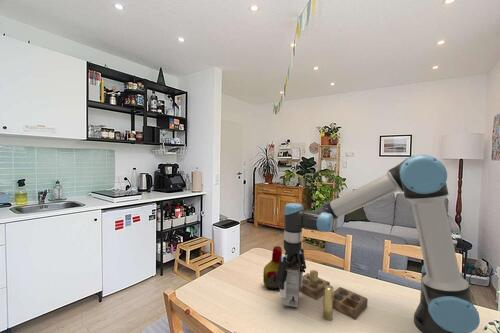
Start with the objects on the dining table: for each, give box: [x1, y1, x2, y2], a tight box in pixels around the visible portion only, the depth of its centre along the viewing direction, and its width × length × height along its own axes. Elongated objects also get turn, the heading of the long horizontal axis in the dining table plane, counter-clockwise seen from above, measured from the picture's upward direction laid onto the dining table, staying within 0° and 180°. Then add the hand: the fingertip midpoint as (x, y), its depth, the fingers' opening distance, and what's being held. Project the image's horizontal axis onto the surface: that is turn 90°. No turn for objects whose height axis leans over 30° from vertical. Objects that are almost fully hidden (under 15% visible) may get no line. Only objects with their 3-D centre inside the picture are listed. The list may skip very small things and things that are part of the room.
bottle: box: [262, 245, 283, 291], centre depth 113 cm, size 12×6×20 cm, turn 76°
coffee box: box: [282, 262, 300, 308], centre depth 101 cm, size 9×6×16 cm
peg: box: [322, 284, 334, 322], centre depth 93 cm, size 4×4×12 cm
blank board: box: [333, 286, 368, 320], centre depth 100 cm, size 12×12×4 cm
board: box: [299, 269, 331, 301], centre depth 113 cm, size 12×12×10 cm
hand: (291, 290), depth 102 cm, fingers closed on coffee box, 11 cm apart
